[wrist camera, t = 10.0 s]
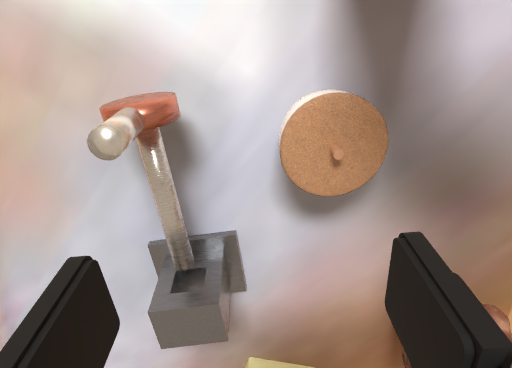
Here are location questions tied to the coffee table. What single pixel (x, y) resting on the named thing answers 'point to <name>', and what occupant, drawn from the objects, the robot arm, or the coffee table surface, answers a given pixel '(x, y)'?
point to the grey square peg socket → (196, 290)
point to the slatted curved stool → (270, 364)
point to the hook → (147, 157)
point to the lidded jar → (332, 142)
